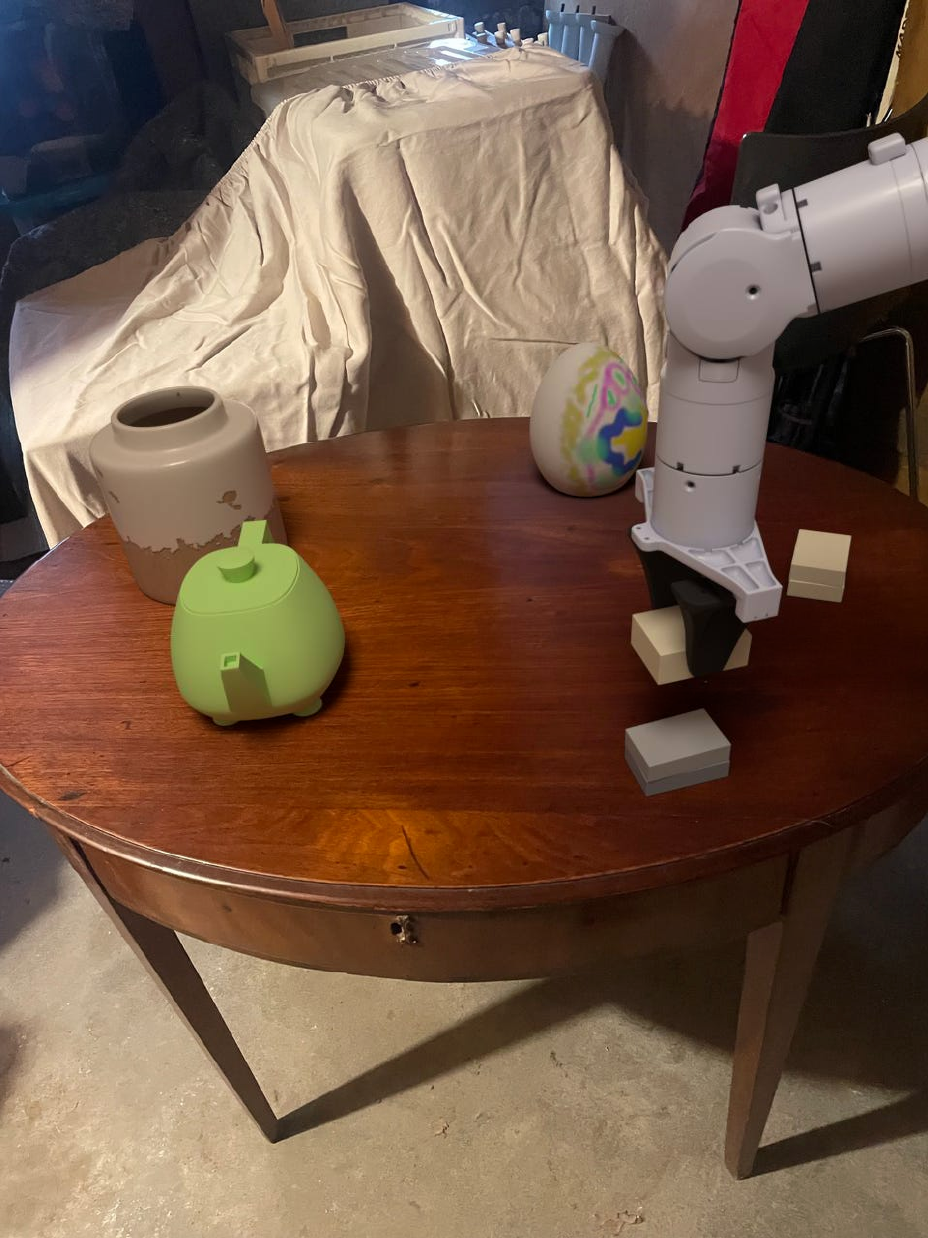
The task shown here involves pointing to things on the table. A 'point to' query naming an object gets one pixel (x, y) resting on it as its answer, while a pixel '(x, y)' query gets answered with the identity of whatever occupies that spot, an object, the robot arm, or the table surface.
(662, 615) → the cream rectangular block
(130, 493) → the vase
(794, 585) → the cream seamed block
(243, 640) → the teapot
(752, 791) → the table surface
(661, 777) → the grey box
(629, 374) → the decorative egg
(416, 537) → the table surface
